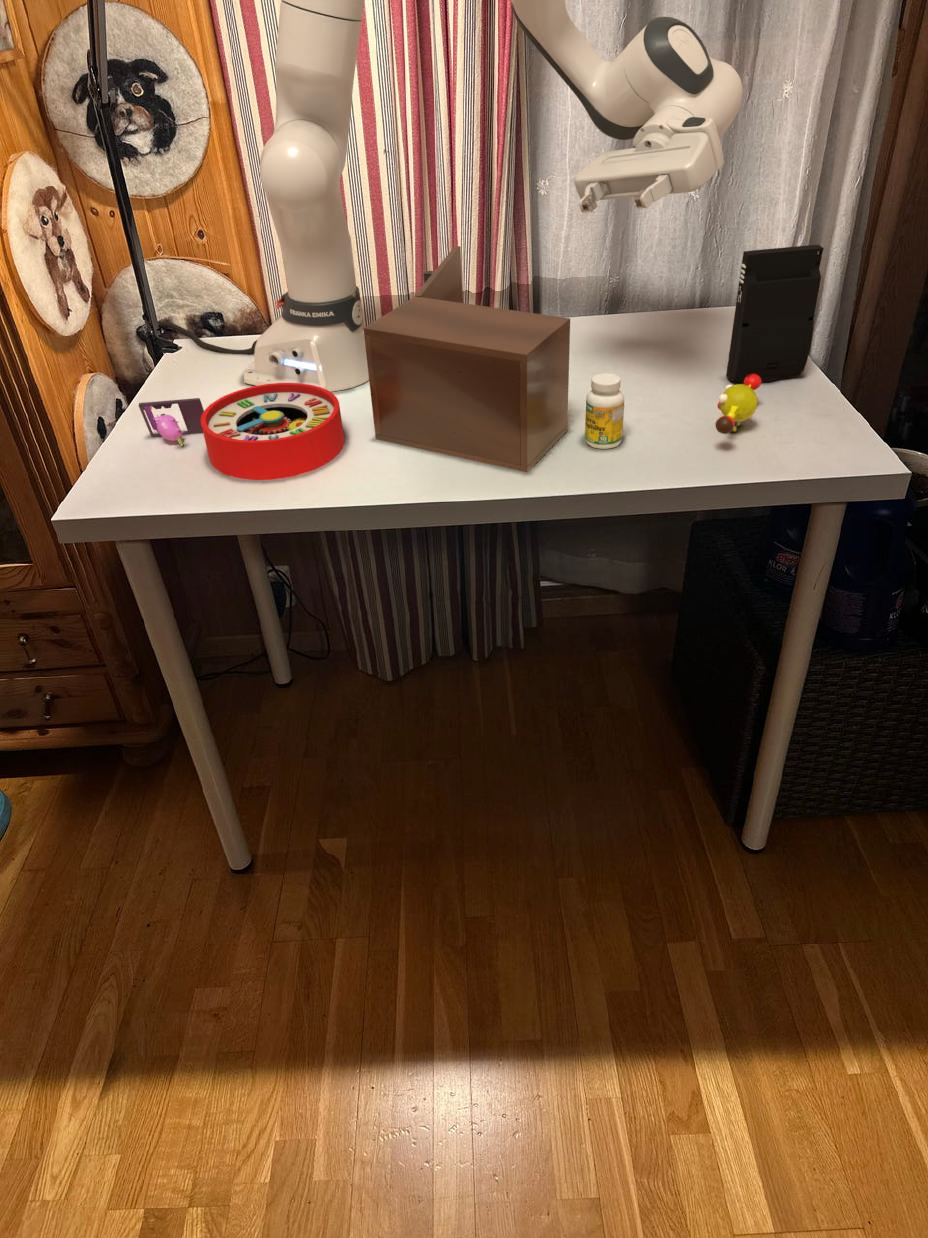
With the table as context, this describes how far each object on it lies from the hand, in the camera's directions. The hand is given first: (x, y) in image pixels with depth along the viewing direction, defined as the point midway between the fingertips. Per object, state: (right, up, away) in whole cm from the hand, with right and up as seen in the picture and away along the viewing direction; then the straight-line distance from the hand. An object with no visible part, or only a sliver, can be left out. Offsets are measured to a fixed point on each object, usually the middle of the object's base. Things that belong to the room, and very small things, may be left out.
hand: (611, 205), depth 124 cm
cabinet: (-19, -28, +14) cm, 36 cm away
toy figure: (+20, -28, +12) cm, 36 cm away
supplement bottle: (+1, -30, +11) cm, 32 cm away
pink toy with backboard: (-63, -28, +17) cm, 71 cm away
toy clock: (-48, -30, +14) cm, 58 cm away
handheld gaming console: (+29, -17, +25) cm, 42 cm away
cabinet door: (-26, -12, +34) cm, 45 cm away
